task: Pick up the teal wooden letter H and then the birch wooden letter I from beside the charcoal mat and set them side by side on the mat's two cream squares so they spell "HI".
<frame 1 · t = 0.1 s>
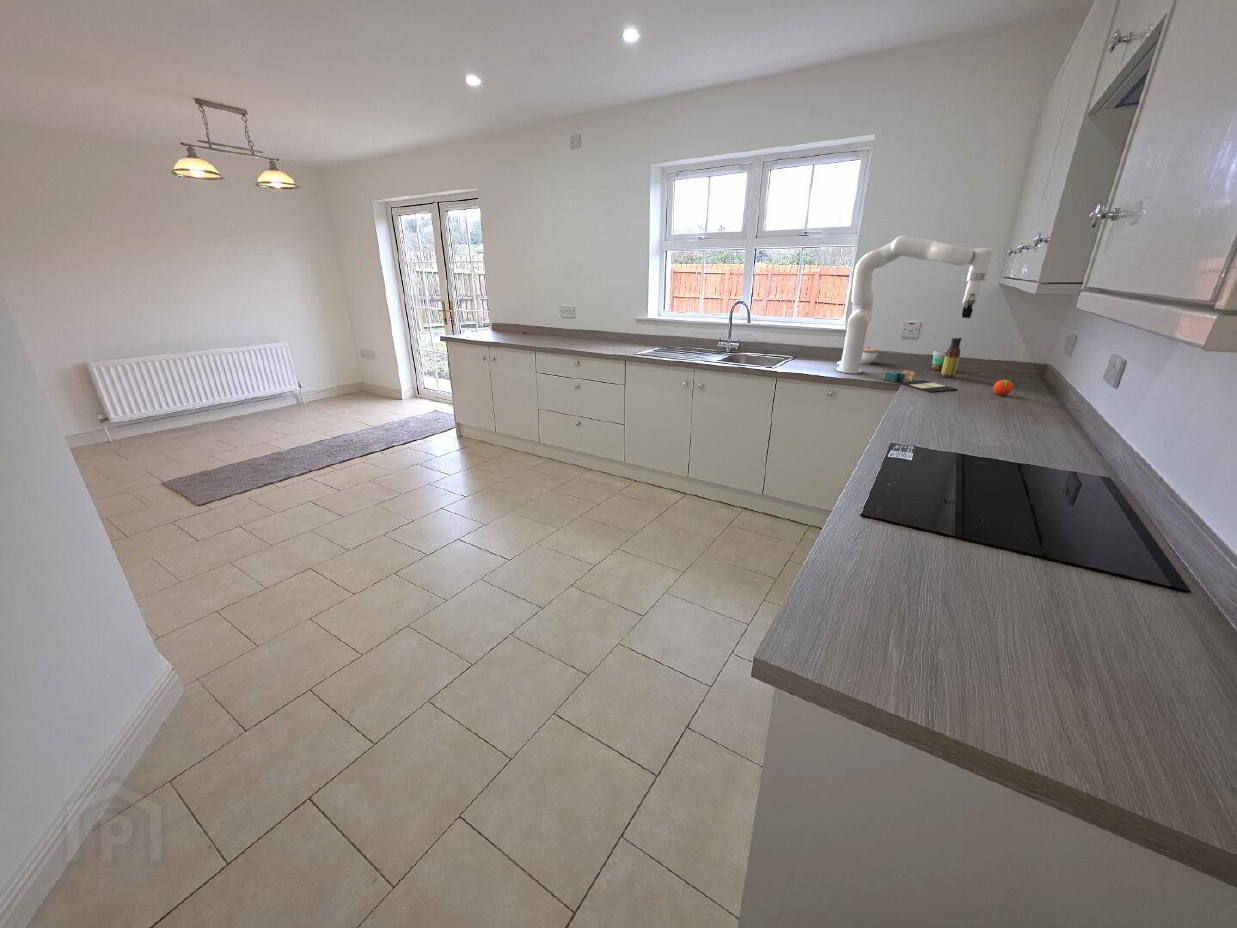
hand: (965, 316, 226), 31 cm above the worktop, tool pointing down, fingers open, 9 cm apart
tomato: (1000, 395, 216), on the worktop
word mat: (927, 386, 230), on the worktop
letter H: (893, 380, 241), on the worktop
trinket box: (865, 363, 281), on the worktop
sauce bottle: (946, 377, 250), on the worktop
letter I: (907, 379, 243), on the worktop
food container: (937, 370, 264), on the worktop
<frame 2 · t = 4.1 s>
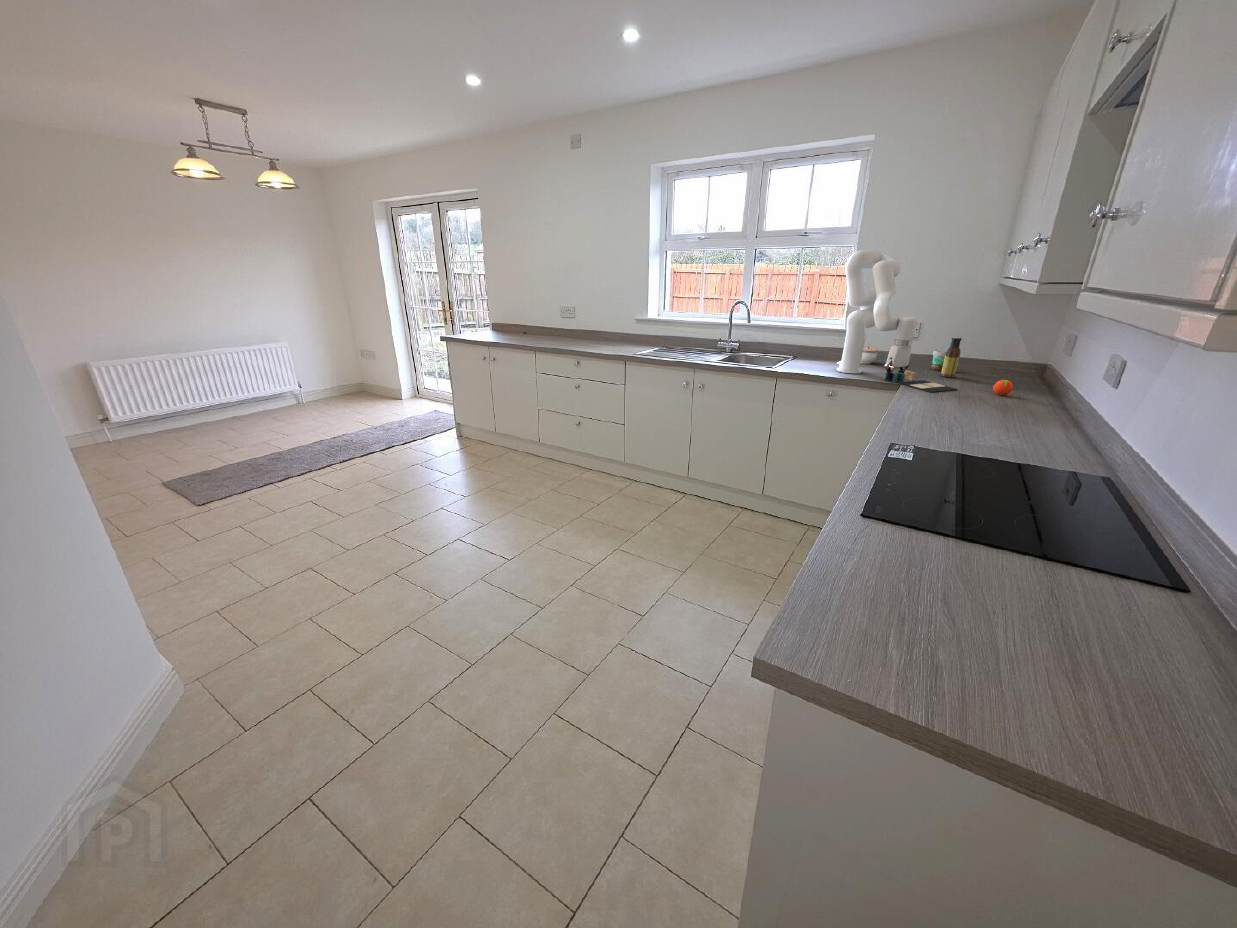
hand: (894, 379, 241), 1 cm above the worktop, tool pointing down, fingers closed on letter H, 6 cm apart
letter H: (893, 380, 241), on the worktop, touching gripper
everything else where it was.
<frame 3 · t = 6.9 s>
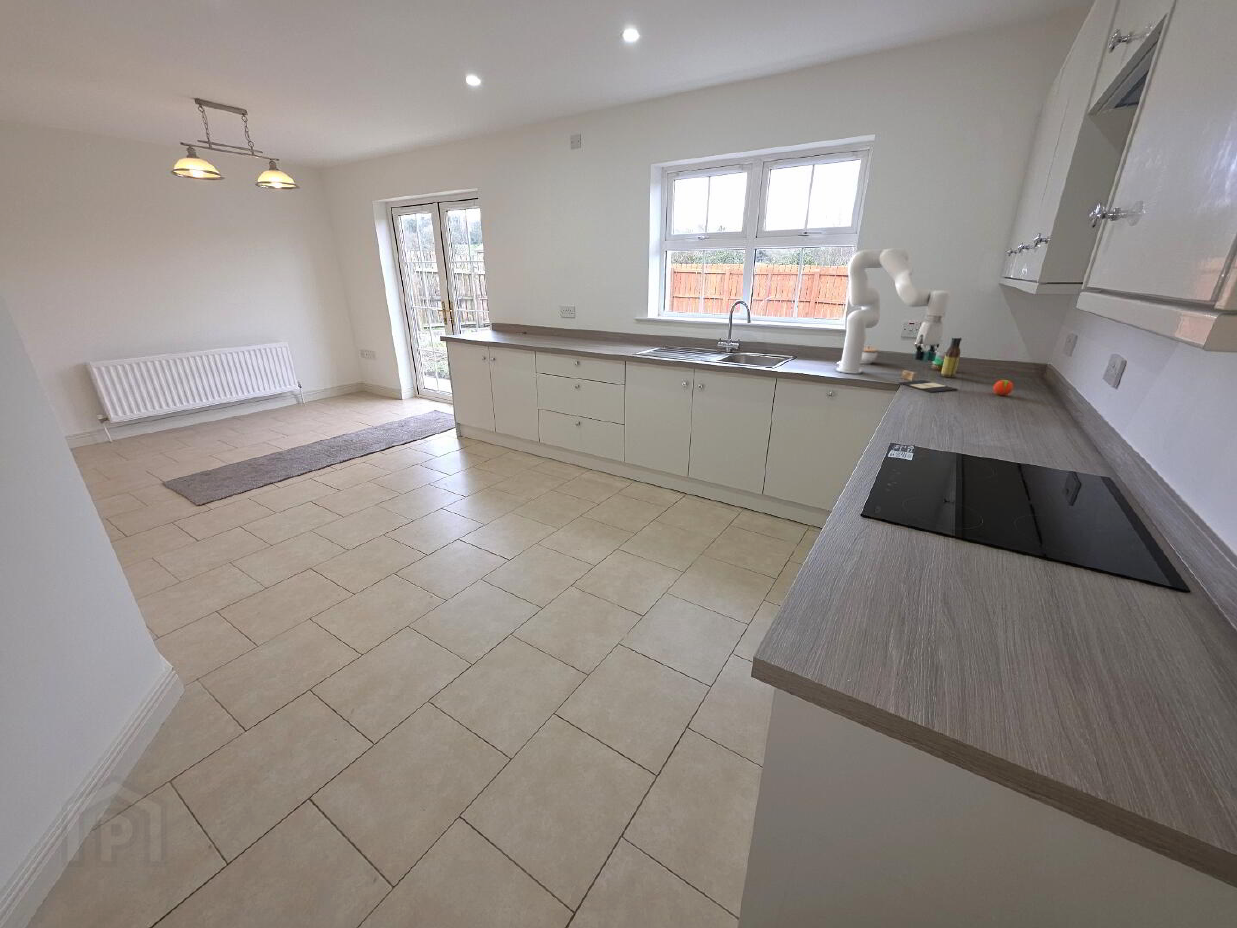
hand: (924, 359, 225), 13 cm above the worktop, tool pointing down, fingers closed on letter H, 6 cm apart
letter H: (924, 360, 226), point 12 cm above the worktop, touching gripper
everything else where it was.
when the fingers open (1 cm above the worktop, at t = 10.1 s): letter H stays where it is, resting on word mat.
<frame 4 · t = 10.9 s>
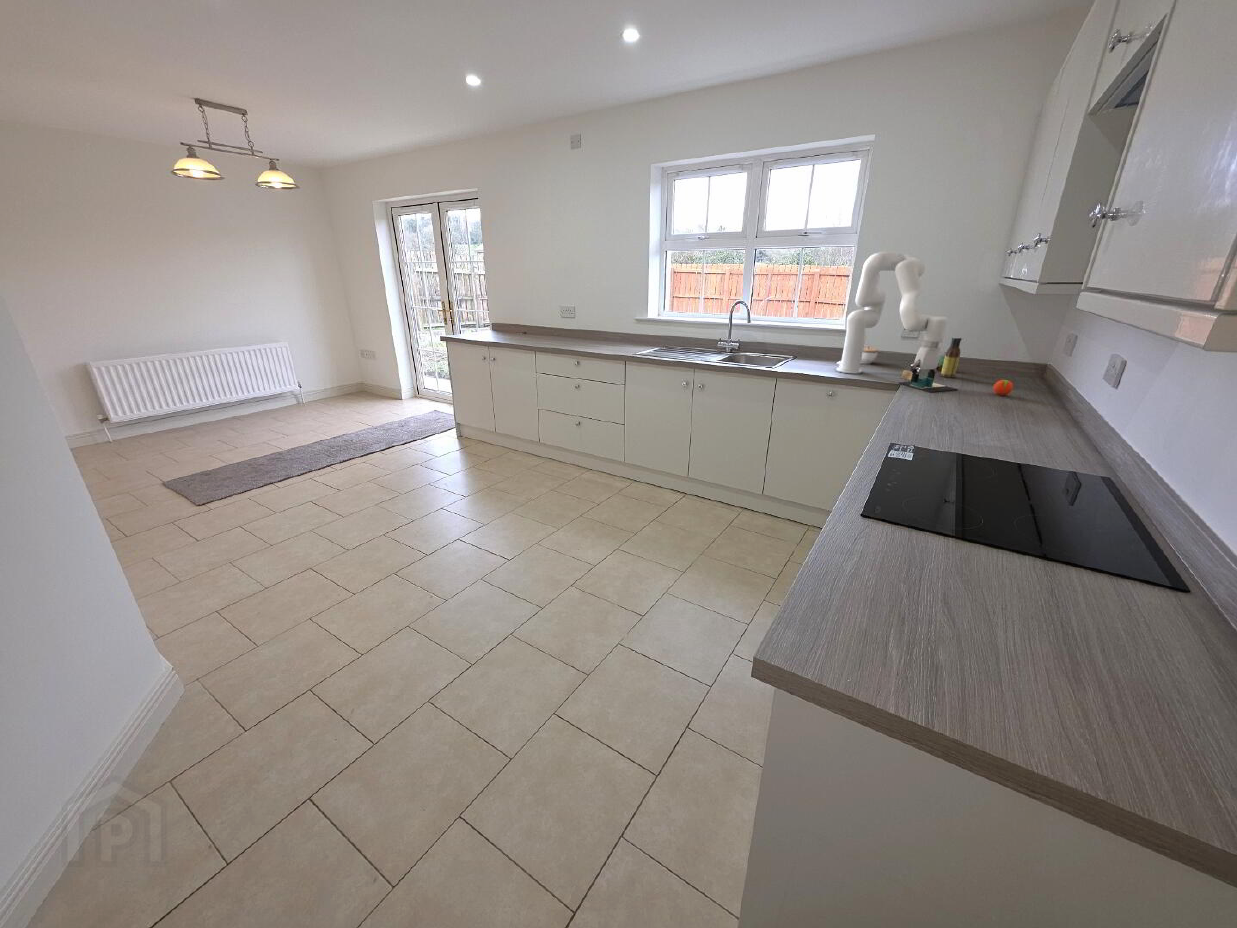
hand: (921, 381, 228), 3 cm above the worktop, tool pointing down, fingers open, 9 cm apart
letter H: (921, 386, 229), point 1 cm above the worktop, touching word mat
everything else where it was.
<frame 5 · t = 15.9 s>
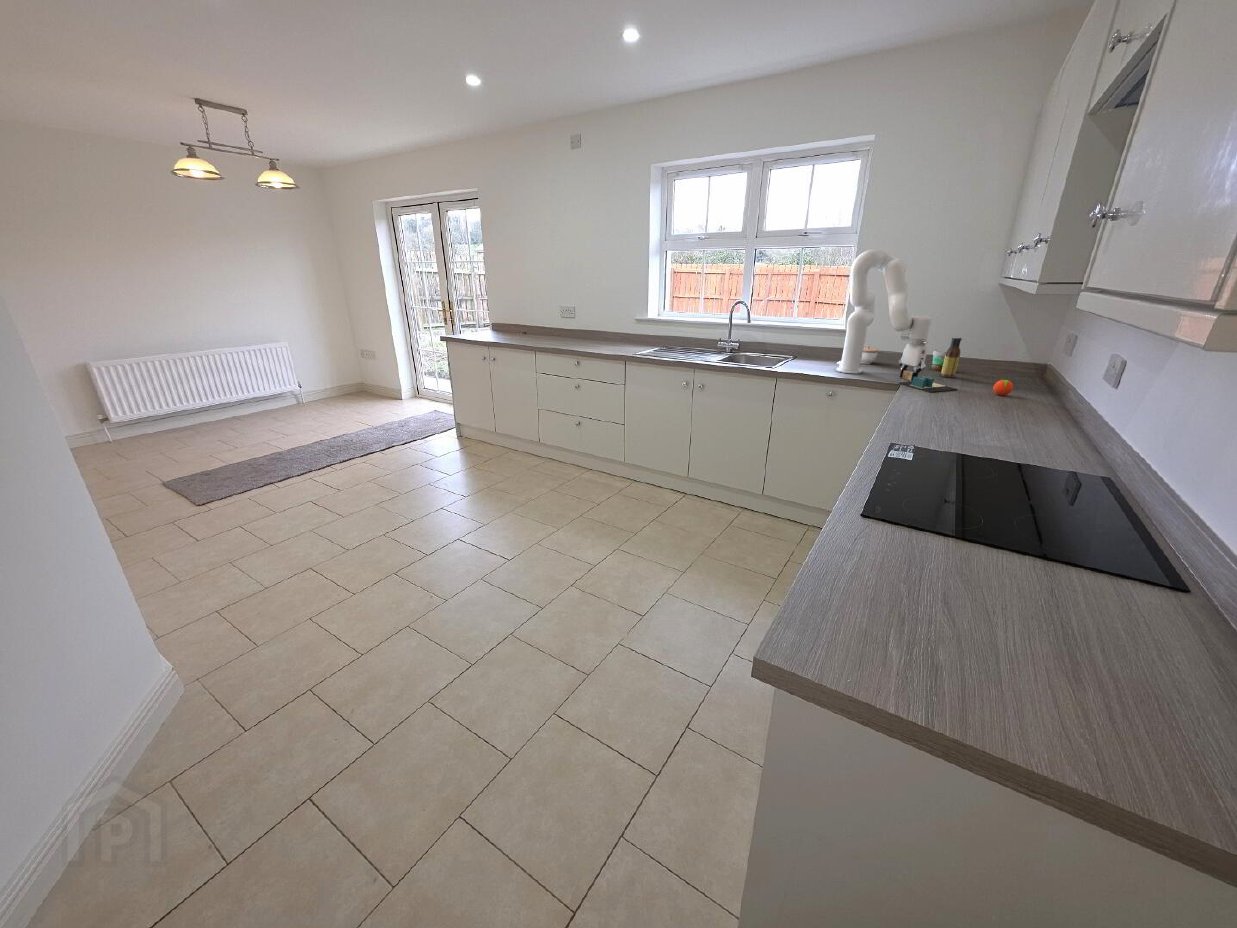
hand: (908, 378, 243), 1 cm above the worktop, tool pointing down, fingers closed on letter I, 6 cm apart
letter I: (907, 379, 243), on the worktop, touching gripper
everything else where it was.
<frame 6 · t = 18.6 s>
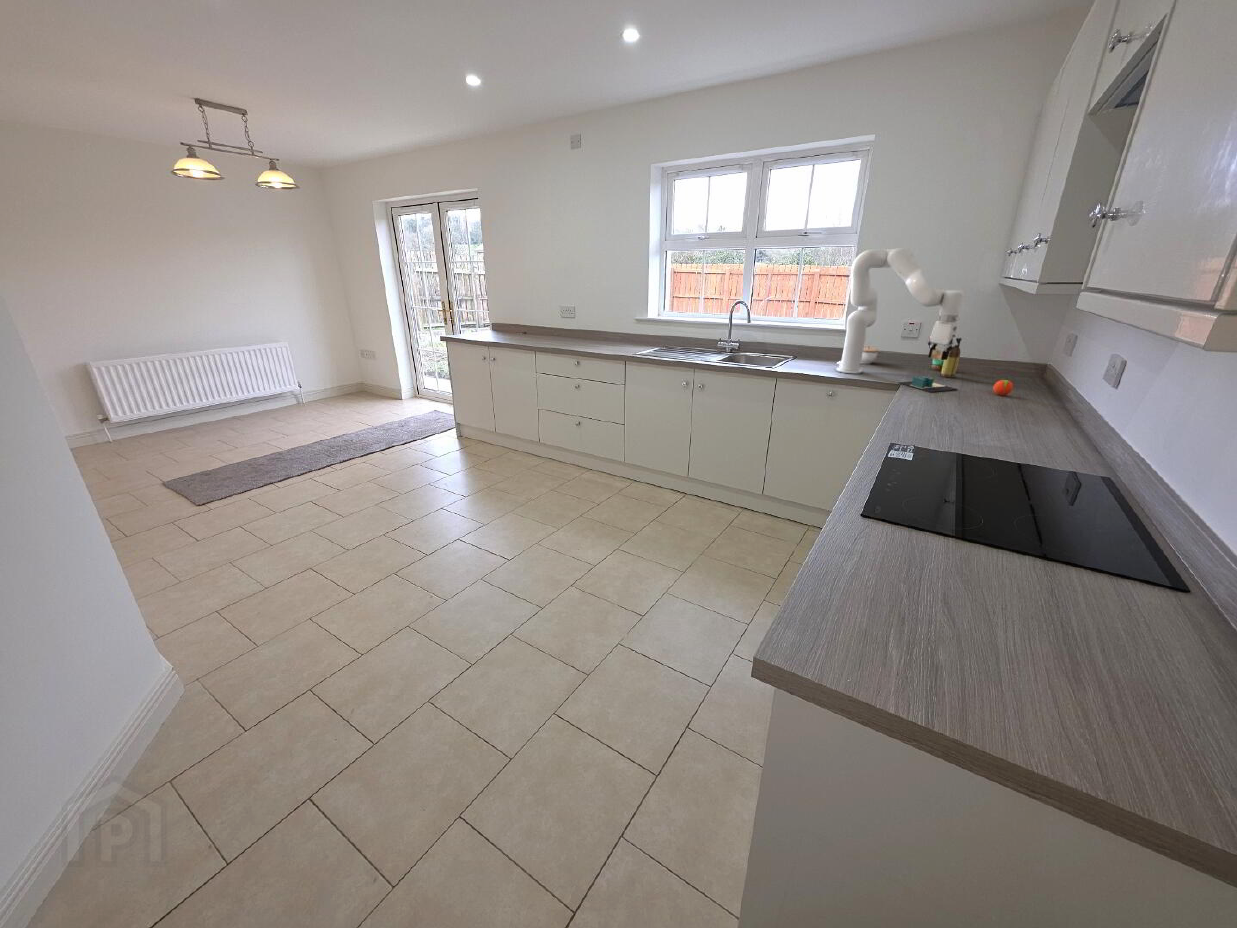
hand: (937, 358, 228), 13 cm above the worktop, tool pointing down, fingers closed on letter I, 6 cm apart
letter I: (937, 359, 228), point 12 cm above the worktop, touching gripper
everything else where it was.
when the fingers open (1 cm above the worktop, at t = 21.8 s): letter I stays where it is, resting on word mat.
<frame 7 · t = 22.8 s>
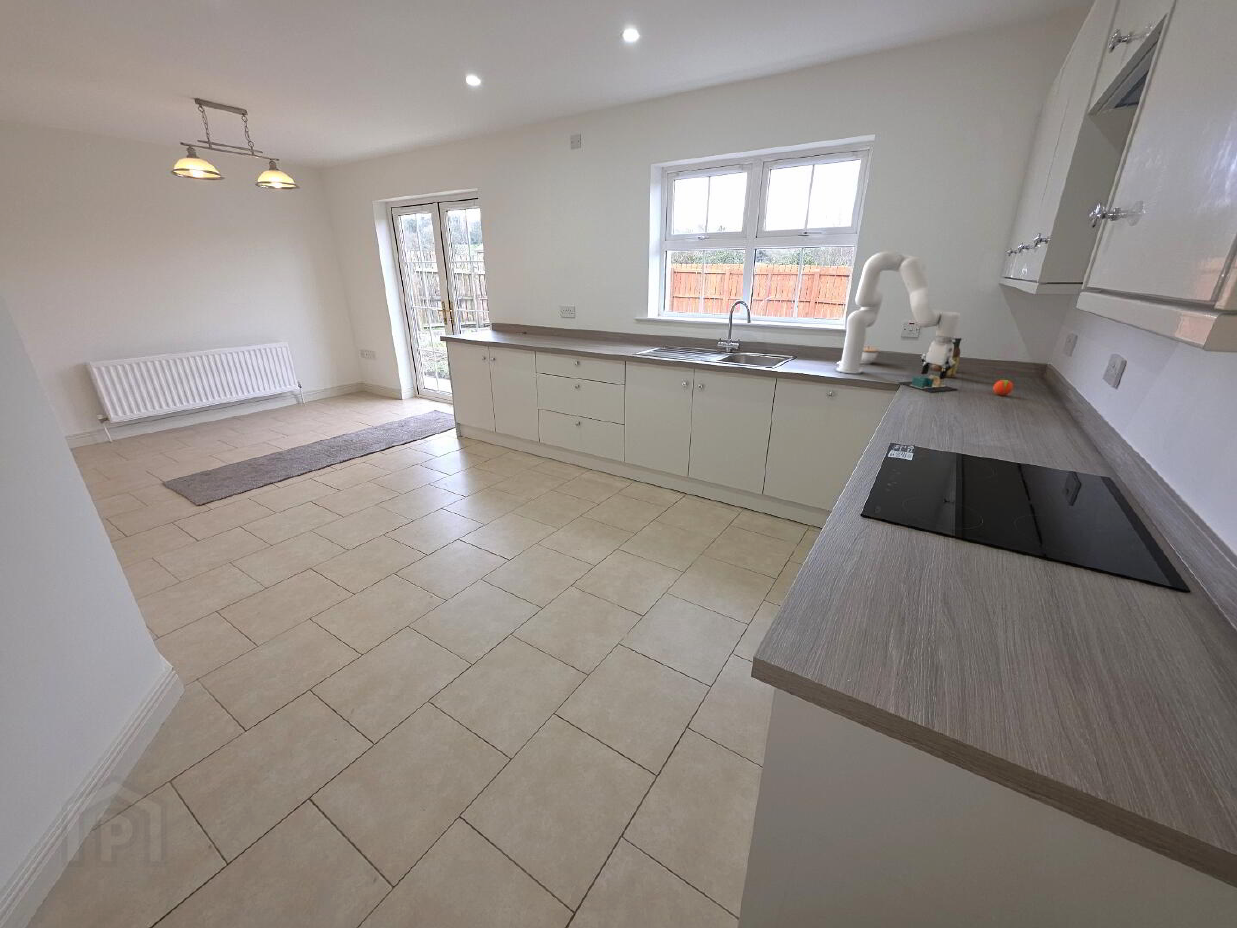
hand: (932, 376, 231), 4 cm above the worktop, tool pointing down, fingers open, 9 cm apart
letter I: (934, 384, 231), point 1 cm above the worktop, touching gripper, word mat
everything else where it was.
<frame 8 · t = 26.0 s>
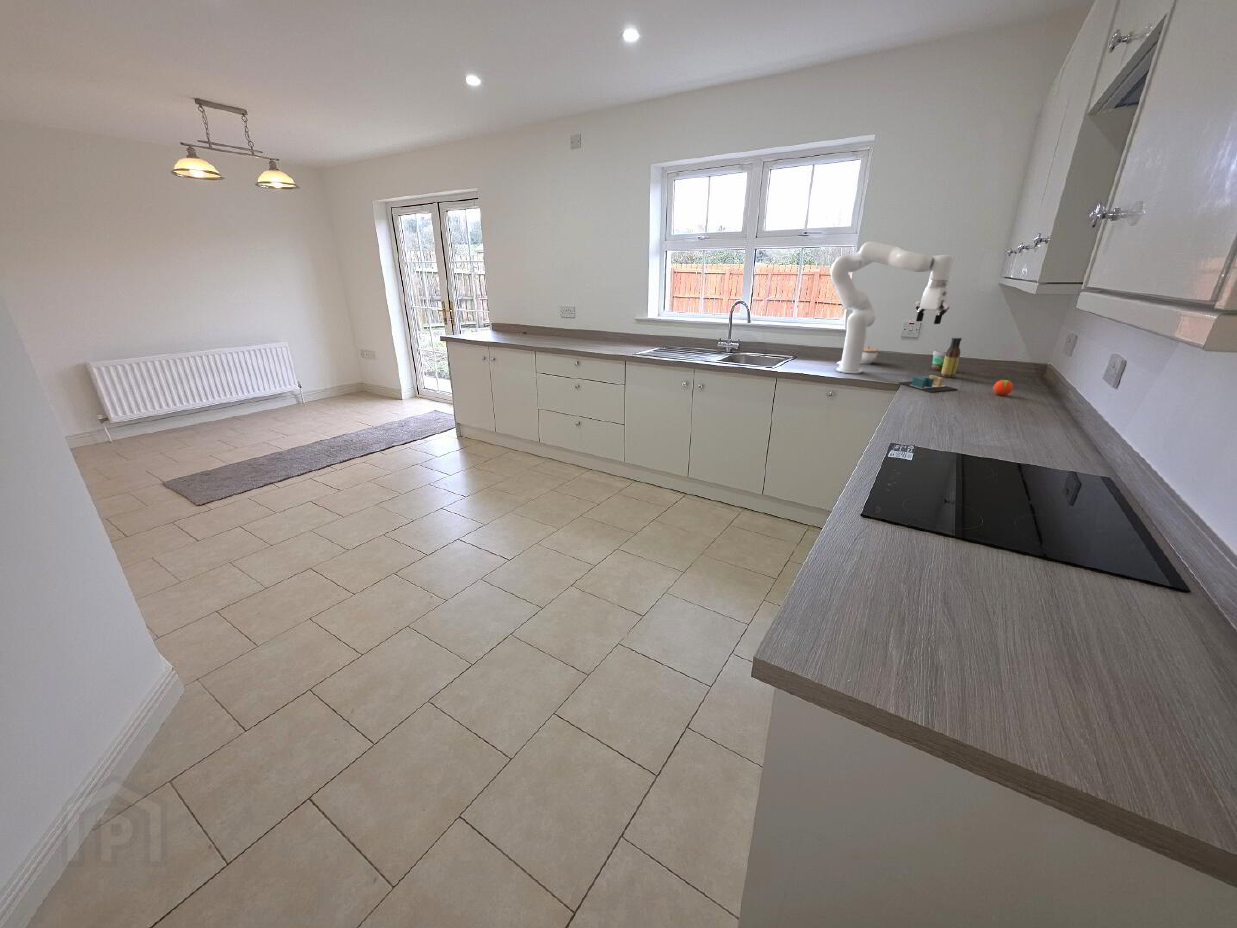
hand: (927, 322, 228), 28 cm above the worktop, tool pointing down, fingers open, 9 cm apart
letter I: (934, 384, 231), point 1 cm above the worktop, touching word mat
everything else where it was.
at the end: letter H 0.1 cm from the target spot, point 0.6 cm above the worktop; letter I 0.1 cm from the target spot, point 0.6 cm above the worktop; letter H tilted 0° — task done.
